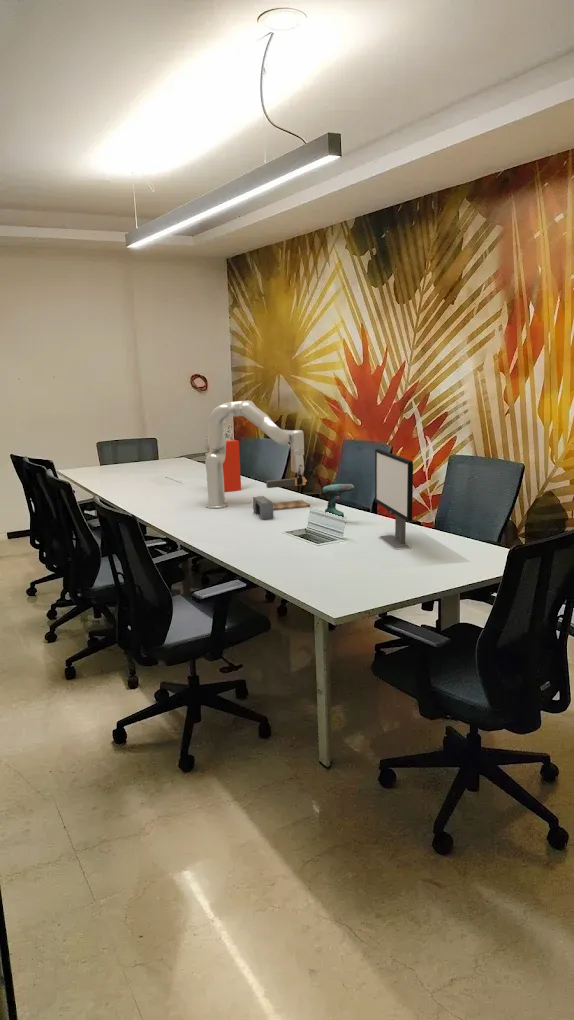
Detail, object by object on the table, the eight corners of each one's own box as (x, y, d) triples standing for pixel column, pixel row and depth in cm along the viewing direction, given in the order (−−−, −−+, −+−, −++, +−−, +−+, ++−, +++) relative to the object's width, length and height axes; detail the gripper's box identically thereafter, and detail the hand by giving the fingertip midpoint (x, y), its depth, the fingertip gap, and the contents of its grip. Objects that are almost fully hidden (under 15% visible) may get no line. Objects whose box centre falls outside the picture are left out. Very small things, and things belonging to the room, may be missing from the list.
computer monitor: (370, 532, 313) (370, 449, 304) (387, 530, 315) (387, 448, 306) (402, 556, 274) (403, 462, 265) (421, 554, 276) (423, 460, 267)
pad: (266, 511, 362) (266, 509, 362) (259, 506, 375) (259, 504, 375) (310, 506, 370) (310, 504, 370) (302, 502, 383) (302, 500, 383)
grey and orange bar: (268, 488, 365) (268, 481, 364) (266, 486, 369) (265, 480, 368) (307, 484, 372) (307, 477, 371) (304, 483, 376) (304, 476, 375)
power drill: (352, 524, 328) (352, 485, 324) (321, 522, 334) (320, 484, 329) (355, 521, 335) (355, 482, 330) (325, 519, 340) (324, 481, 336)
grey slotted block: (262, 520, 342) (261, 503, 340) (253, 513, 359) (252, 497, 357) (273, 519, 344) (272, 502, 342) (264, 511, 361) (263, 496, 359)
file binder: (212, 490, 424) (209, 441, 416) (237, 488, 430) (235, 439, 422) (215, 493, 416) (212, 443, 409) (241, 490, 422) (239, 441, 415)
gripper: (286, 450, 375) (287, 482, 379) (295, 454, 359) (297, 487, 363) (298, 449, 377) (299, 481, 381) (308, 453, 361) (309, 485, 366)
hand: (298, 483), depth 372 cm, fingers closed on grey and orange bar, 4 cm apart
